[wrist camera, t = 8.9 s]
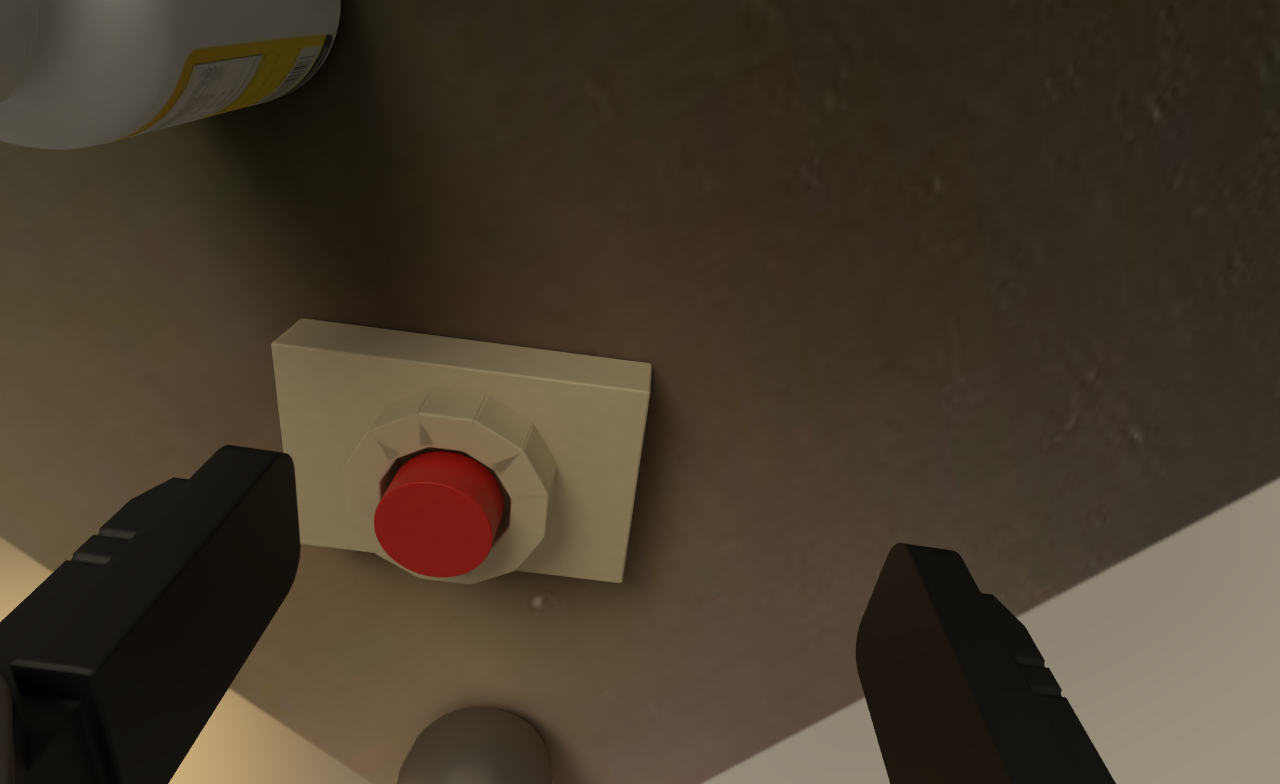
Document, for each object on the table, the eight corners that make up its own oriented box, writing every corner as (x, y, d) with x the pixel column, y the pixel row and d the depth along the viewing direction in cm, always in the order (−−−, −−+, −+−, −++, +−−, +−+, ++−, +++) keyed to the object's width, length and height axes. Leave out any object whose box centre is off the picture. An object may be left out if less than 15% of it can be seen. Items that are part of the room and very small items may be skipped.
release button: (506, 458, 23) (494, 490, 22) (502, 548, 25) (490, 584, 23) (390, 443, 23) (370, 474, 22) (394, 535, 25) (375, 570, 23)
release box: (652, 362, 25) (649, 420, 22) (625, 546, 29) (619, 620, 26) (301, 317, 25) (240, 367, 22) (318, 507, 29) (269, 578, 25)
